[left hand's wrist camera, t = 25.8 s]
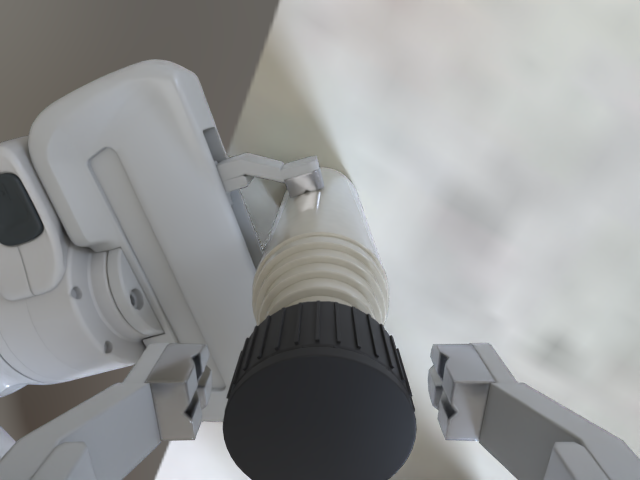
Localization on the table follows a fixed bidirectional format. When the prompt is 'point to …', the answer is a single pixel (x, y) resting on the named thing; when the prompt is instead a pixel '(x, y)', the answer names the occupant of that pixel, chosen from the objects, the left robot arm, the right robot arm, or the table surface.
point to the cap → (319, 398)
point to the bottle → (321, 254)
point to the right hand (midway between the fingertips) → (337, 227)
